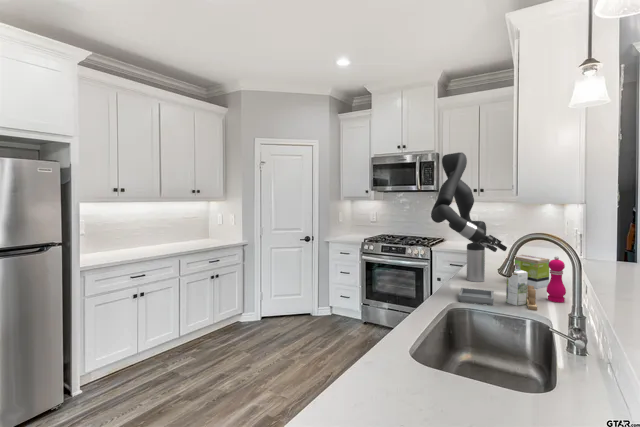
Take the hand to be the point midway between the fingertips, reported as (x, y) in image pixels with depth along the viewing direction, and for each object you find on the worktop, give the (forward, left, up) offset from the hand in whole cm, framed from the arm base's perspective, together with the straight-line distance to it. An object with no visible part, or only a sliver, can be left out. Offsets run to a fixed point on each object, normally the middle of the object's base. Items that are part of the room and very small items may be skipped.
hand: (500, 249), depth 165 cm
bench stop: (+12, +11, -21) cm, 27 cm away
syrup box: (+12, +6, -22) cm, 26 cm away
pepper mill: (0, +22, -22) cm, 31 cm away
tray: (+12, -10, -21) cm, 27 cm away
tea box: (-28, +14, -22) cm, 38 cm away
